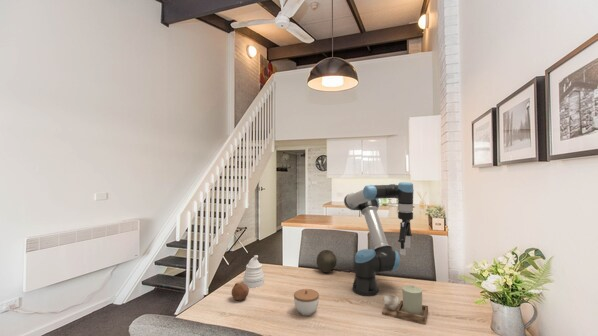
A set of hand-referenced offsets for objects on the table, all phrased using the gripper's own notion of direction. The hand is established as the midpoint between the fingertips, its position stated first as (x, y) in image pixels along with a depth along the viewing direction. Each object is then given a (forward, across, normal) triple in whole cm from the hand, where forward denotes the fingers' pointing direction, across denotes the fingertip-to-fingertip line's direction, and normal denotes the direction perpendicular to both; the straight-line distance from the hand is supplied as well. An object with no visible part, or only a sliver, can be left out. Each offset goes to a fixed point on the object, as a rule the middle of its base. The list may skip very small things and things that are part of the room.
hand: (405, 251), depth 154 cm
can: (+27, -11, -6) cm, 29 cm away
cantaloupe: (+30, +22, +56) cm, 68 cm away
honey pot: (+30, -19, +88) cm, 95 cm away
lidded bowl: (+28, -34, +41) cm, 61 cm away
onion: (+29, -40, +80) cm, 94 cm away
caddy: (+28, -11, -2) cm, 30 cm away
